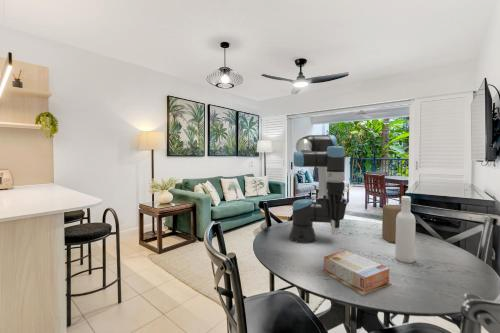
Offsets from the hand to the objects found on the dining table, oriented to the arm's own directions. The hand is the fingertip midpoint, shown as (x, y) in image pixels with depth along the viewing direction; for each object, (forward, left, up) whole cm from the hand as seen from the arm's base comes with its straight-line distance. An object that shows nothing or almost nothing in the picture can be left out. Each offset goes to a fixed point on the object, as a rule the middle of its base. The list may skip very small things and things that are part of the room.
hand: (334, 234), depth 108 cm
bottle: (+9, +35, -15) cm, 39 cm away
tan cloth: (+11, 0, -15) cm, 19 cm away
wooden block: (-10, +56, -15) cm, 59 cm away
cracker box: (0, 0, -11) cm, 11 cm away
